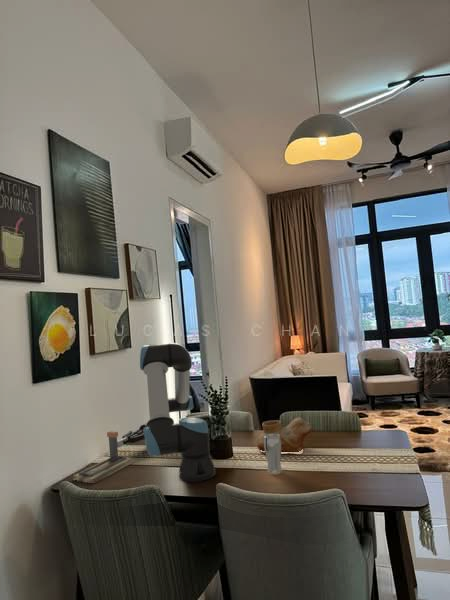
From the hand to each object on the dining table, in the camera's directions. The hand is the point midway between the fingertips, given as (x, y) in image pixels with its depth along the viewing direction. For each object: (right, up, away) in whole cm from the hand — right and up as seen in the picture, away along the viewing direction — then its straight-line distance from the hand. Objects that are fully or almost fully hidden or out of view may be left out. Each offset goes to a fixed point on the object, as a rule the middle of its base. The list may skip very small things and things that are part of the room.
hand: (117, 444), depth 198 cm
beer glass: (+71, -3, -25) cm, 75 cm away
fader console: (-4, -9, -9) cm, 13 cm away
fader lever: (-1, -7, -3) cm, 7 cm away
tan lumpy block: (+79, -3, 0) cm, 79 cm away
